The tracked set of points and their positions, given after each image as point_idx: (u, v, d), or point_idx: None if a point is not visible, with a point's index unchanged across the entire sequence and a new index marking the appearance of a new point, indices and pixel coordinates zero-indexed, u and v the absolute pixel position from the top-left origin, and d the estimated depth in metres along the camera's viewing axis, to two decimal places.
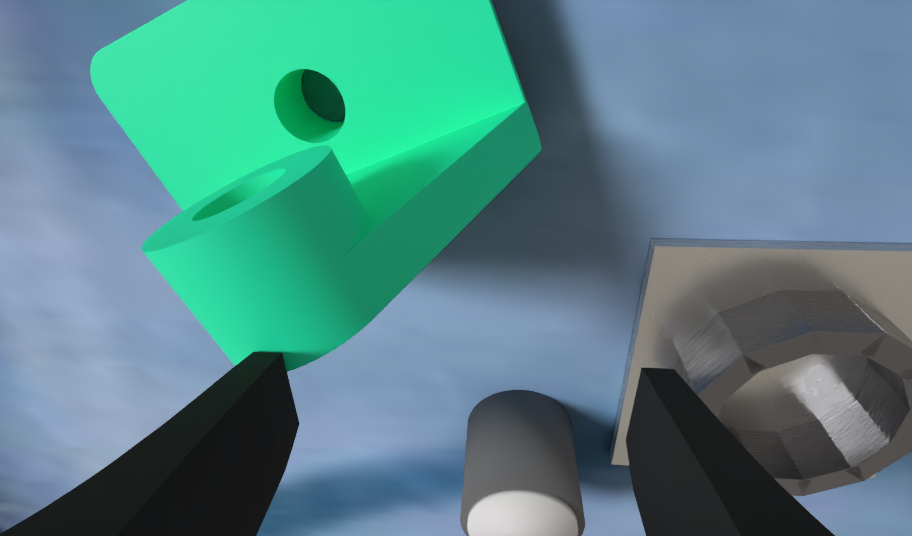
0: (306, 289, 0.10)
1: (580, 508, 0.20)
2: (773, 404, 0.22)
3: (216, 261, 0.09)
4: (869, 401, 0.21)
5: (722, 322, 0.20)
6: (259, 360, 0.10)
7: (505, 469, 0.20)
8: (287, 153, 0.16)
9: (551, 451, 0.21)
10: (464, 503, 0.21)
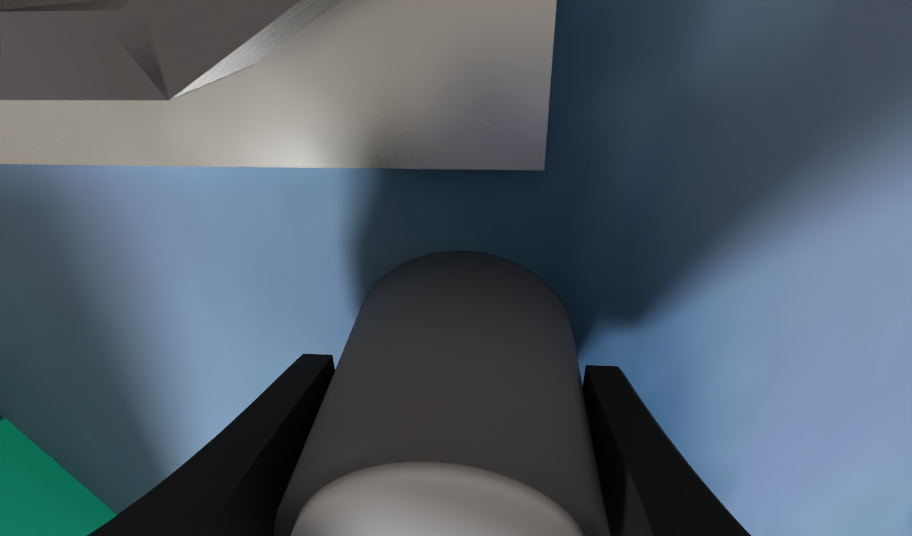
0: None
1: (351, 451, 0.07)
2: None
3: None
4: None
5: None
6: (311, 362, 0.10)
7: None
8: None
9: (320, 406, 0.09)
10: None
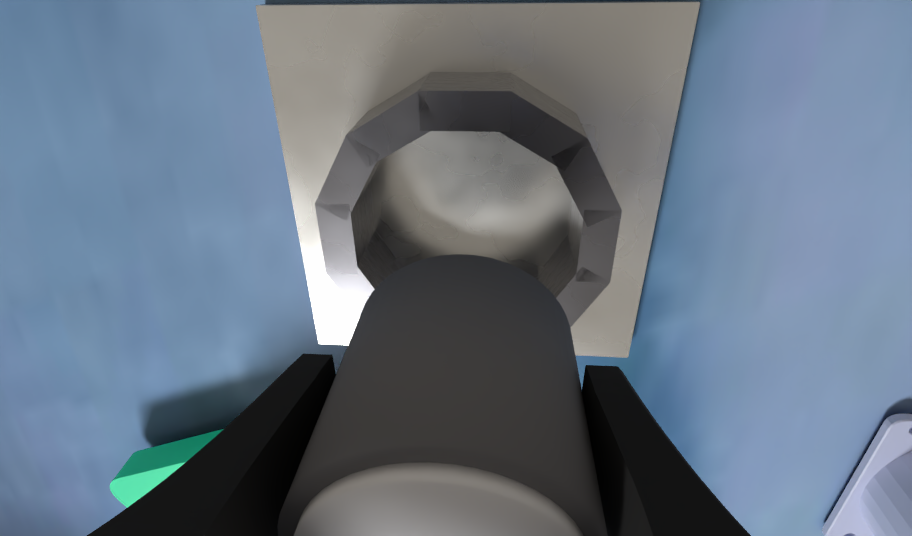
0: None
1: (349, 453, 0.07)
2: (519, 201, 0.17)
3: None
4: None
5: None
6: (310, 362, 0.10)
7: None
8: None
9: None
10: None
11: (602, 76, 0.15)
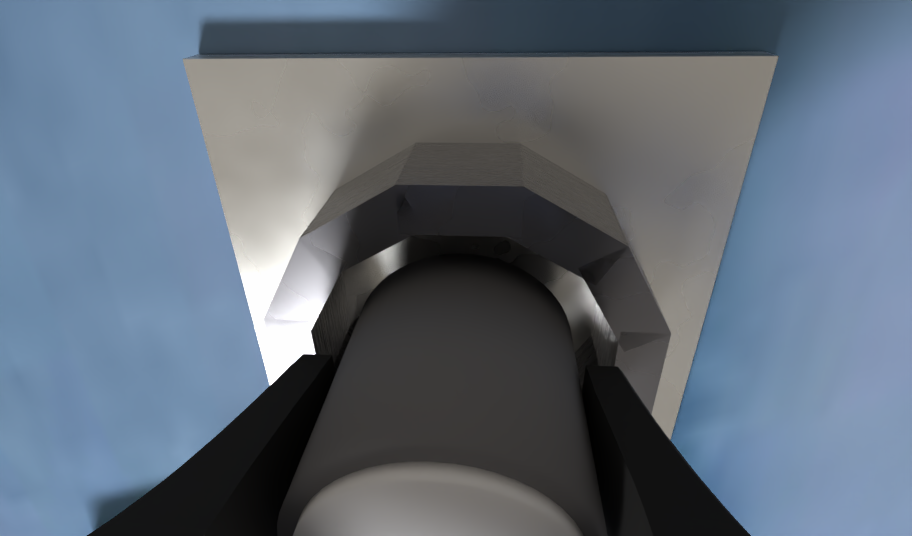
0: None
1: (349, 452, 0.07)
2: None
3: None
4: None
5: None
6: (311, 362, 0.10)
7: None
8: None
9: (321, 410, 0.09)
10: None
11: (642, 148, 0.11)
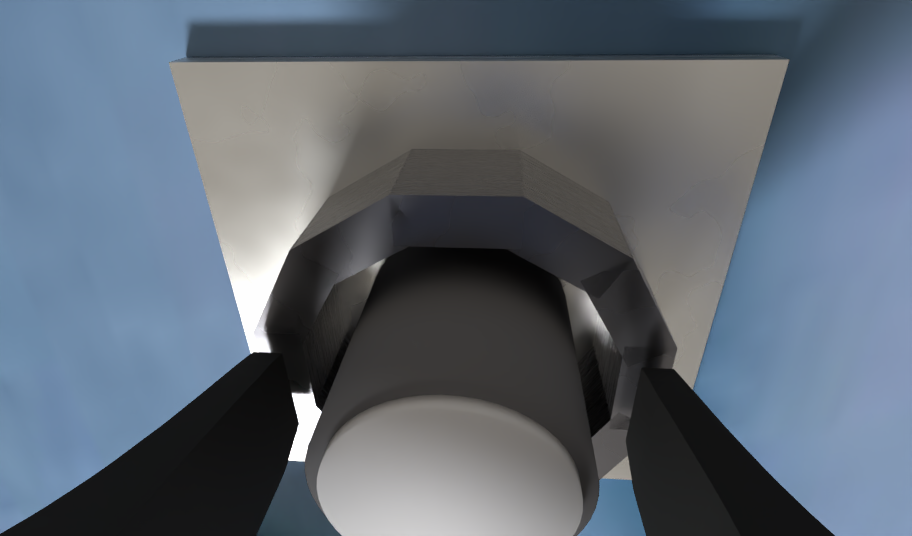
0: None
1: (370, 388, 0.08)
2: None
3: None
4: None
5: None
6: (259, 360, 0.10)
7: None
8: None
9: (341, 364, 0.10)
10: None
11: (646, 155, 0.11)
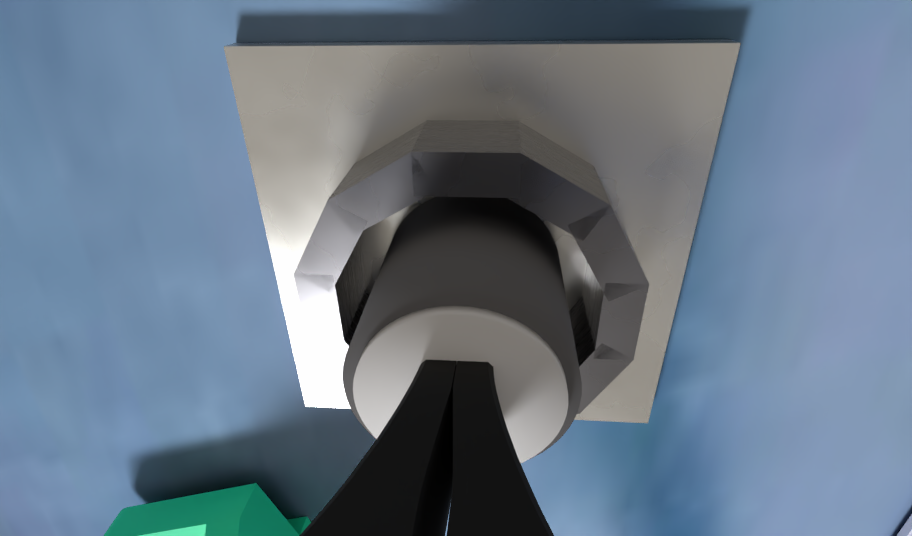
0: None
1: (398, 301, 0.10)
2: None
3: None
4: None
5: None
6: (439, 367, 0.10)
7: None
8: None
9: (369, 296, 0.12)
10: None
11: (625, 125, 0.13)
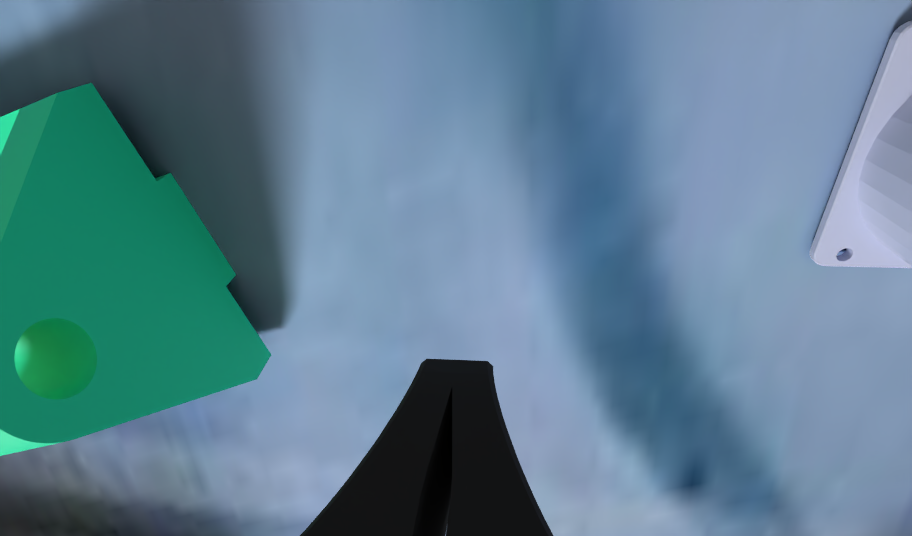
0: None
1: None
2: None
3: None
4: None
5: None
6: (439, 367, 0.10)
7: None
8: None
9: None
10: None
11: None
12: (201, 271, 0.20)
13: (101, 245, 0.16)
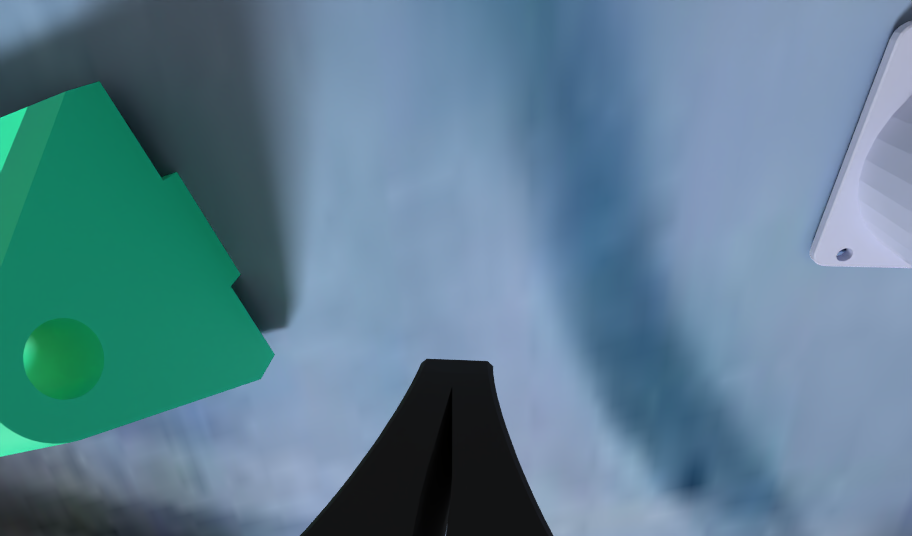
0: None
1: None
2: None
3: None
4: None
5: None
6: (440, 368, 0.10)
7: None
8: None
9: None
10: None
11: None
12: (207, 271, 0.20)
13: (108, 244, 0.16)
